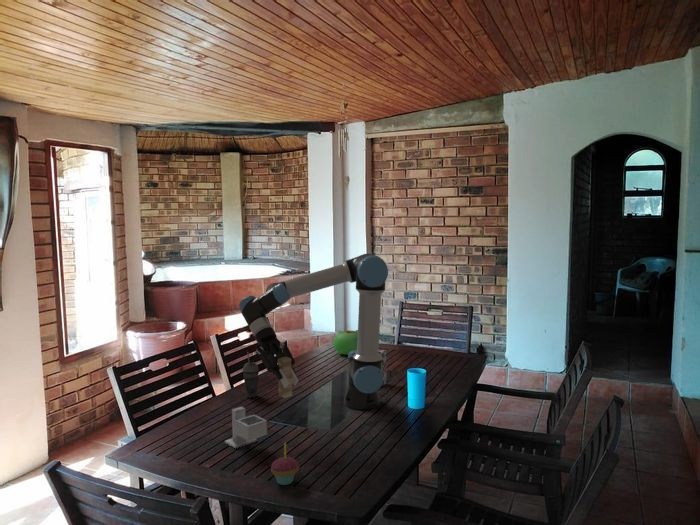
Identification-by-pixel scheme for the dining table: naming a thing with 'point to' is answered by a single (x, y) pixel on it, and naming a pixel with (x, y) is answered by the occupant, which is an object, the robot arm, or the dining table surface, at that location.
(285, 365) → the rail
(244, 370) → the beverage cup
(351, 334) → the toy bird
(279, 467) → the cupcake
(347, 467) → the dining table surface
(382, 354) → the candy bar box
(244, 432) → the bracket
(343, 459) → the dining table surface
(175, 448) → the dining table surface
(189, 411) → the dining table surface
